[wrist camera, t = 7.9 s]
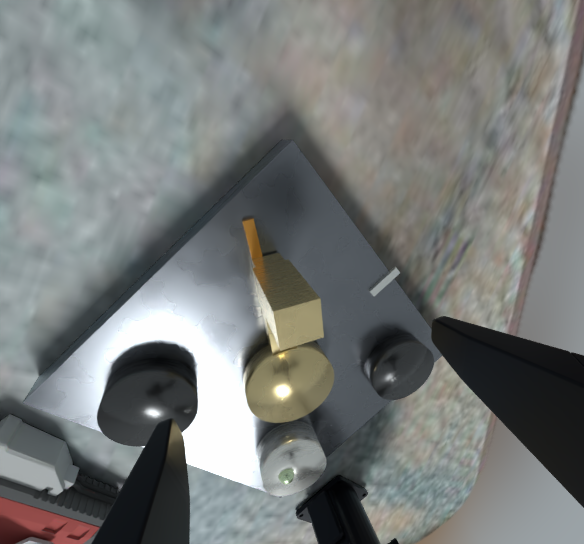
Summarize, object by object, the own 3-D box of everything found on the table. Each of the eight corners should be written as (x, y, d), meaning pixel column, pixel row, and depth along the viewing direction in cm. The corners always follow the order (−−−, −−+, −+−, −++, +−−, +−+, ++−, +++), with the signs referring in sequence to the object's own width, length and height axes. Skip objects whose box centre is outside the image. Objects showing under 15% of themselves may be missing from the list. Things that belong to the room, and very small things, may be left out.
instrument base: (435, 333, 27) (481, 370, 23) (275, 475, 29) (290, 536, 24) (288, 133, 16) (324, 132, 12) (38, 376, 18) (-11, 455, 13)
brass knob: (328, 389, 23) (366, 457, 18) (251, 416, 21) (270, 499, 16) (314, 244, 17) (364, 286, 12) (211, 268, 16) (222, 326, 11)
